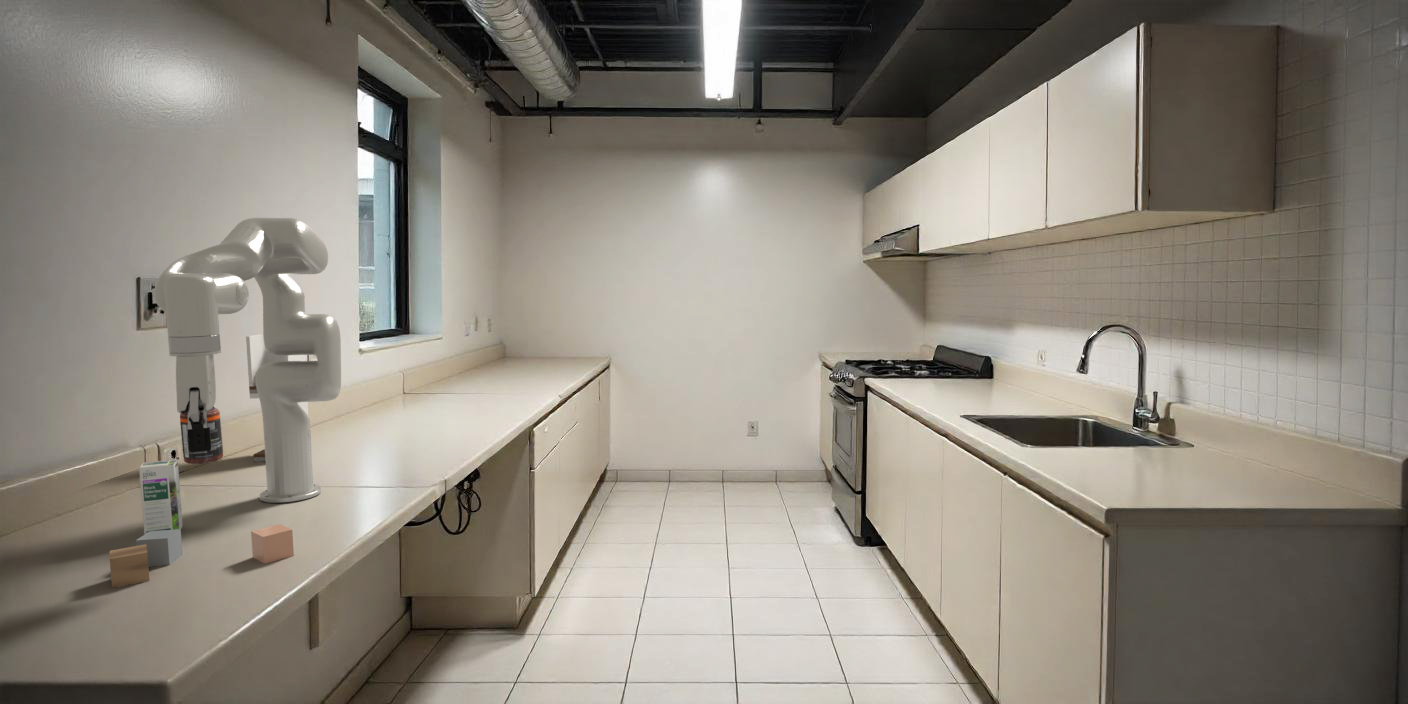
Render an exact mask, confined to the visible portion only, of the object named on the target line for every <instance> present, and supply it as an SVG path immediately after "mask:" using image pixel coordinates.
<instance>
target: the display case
mask: <svg viewBox="0 0 1408 704" xmlns="http://www.w3.org/2000/svg"><path fill="white" fill-rule="evenodd" d="M245 339H246V341H245V342H246V359H247V372H248V389H249V399H259V395H258V392H257V388H256V374H257V372H258V370H259V369H260V368H261V367H262V366H264V365H265V364H268V363H272V362H279V361H306V355H275V354H271V353H269V352H268V351H267V350H266V348H265V345H264V337H263V333H261V334H255V335H254V334H253V335H247V336H245ZM298 404H299V405H300V406H301V408H302V409H303V410H304V411H305V412H306V414H307V415H308V416H309V405H308V404H309V402H299V403H298ZM253 462H254V463H255V462H256V463H257V462H266V461H265V448H264V449H262V450H260V451H258V452H255V453H254V454H253Z"/></svg>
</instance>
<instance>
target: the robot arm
mask: <svg viewBox="0 0 1408 704" xmlns="http://www.w3.org/2000/svg"><path fill="white" fill-rule="evenodd" d="M328 263H329V253H328V249H327V246H326V244H325V243H324V241H323V240H322V238H321V237H320V236H319V235H318V234H317V233H316V231H314V230H313V229H312V227H310V226H309V225H308V224H307V223H305V222H303V221H302V220H300V219H297V218H292V217H252V218H246V219H244V220H242V221H240V222H238V223H237V224H236V226H235V227H234V228H233V229H232V230H231V231H230V232H229V233H228V234H227V236H226V237H225V238H224V239H223V240H222V241H221V242H220V243H219V244H216V245H213V246H210V247H207V248H203V249H201V250H198V251H196V252H193V253H190V254H187V255H184V256H182V257H180V258H178V259H176V260H175V261H173V262H172V263H171V264H169V266H168V267H166V269H165V270H163V272H162V273H161V274H160V275H159V277H158V279H157V281H156V283H155V287H154V290H153V291H154V300H155V304H156V305H157V306H158V307H159V309H160V310H162V311H163V312H164V313H165V314H166V315H165V317H166V326H167V327H166V328H167V329H166V330H167V339H168V342H167V343H168V353H169V356H170V357H175V386H176V387H175V388H176V411H177V413H179V415H180V414H181V413H183V412H184V411H185V410H186V409H187V408H188V430H187V431H188V444H189V451H190V452H200V451H209V450H211V436H210V427H208V417H207V413H208V412H207V411H209V410H211V409H212V407H213V406H214V407H215V405H216V401H217V400H216V399H217V398H216V397H217V396H216V395H217V391H216V390H217V389H216V370H215V358H214V355H217V354H221V353H222V347H221V335H220V321H219V319H220V318H219V315H231V314H236V313H238V312H240V311H242V310H243V309H244V308H245V307H246V305H247V303H248V301H249V296H250V295H249V293H250V292H249V288H248V286H247V283H246V282H245V281H248V280H251V279H253V278H254V279H255V281H256V284H257V285H258V287H259V289H260V292H261V297H262V329H263V330H262V332H263V333H262V334H263V337H264V345H265V348H266V350H267V351H268V352H269V353H271V354H275V355H305V356H316V359H317V360H305V361H279V362H272V363H268V364H265V365H264V366H262V367H261V368H260V369H259V370H258V372H257V374H256V388H257V392H258V395H259V398H258V399H259V403H260V408H261V414H262V416H261V417H262V425H263V426H262V427H263V428H262V429H263V442H264V445H263V446H264V449H265V461H264V462H265V474H266V477H265V478H266V490H264V491H262V492H260V494H259V500H260V501H262V502H265V503H271V504H272V503H273V504H274V503H276V504H277V503H278V504H279V503H280V504H281V503H292V502H297V501H298V502H299V501H302V500H307V499H311V498H314V497H316V496H318V495H320V494H321V492H322V488H321V486H320V485H318V484H314V471H313V455H312V454H313V453H312V437H311V434H312V433H311V421H310V417H309V414H308V415H307V414H306V412H305V411H304V410H303V409H302V408H301V406H300V405H299V404H298V403H299V402H308V403H310V402H311V403H313V402H330V401H334V400H336V399H337V397H338V396H339V394H340V392H341V389H342V388H341V387H342V357H341V356H342V345H341V343H342V342H341V339H342V338H341V331H340V326H339V323H338V321H337V320H336V319H335V318H334V317H333V316H332V315H328V314H325V313H313V314H312V313H306V310H305V309H306V307H305V302H306V301H305V292H304V291H303V289H302V287H301V286H300V285H299V282H297V281H296V280H295V279H294V278H293V277H292V276H291V275H317V274H320V273H323V271H325V270H326V268H327V266H328ZM203 403H204V405H203ZM187 404H188V406H187ZM202 407H204V410H199V408H202ZM202 415H203V416H202Z"/></svg>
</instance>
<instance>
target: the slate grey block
mask: <svg viewBox="0 0 1408 704" xmlns="http://www.w3.org/2000/svg"><path fill="white" fill-rule="evenodd" d="M145 544H146V545H147V555H148V567H150V568H151V567H160V566H161V567H163V566H171V565H172V564H173V563H174V562H175V561H177V560H178V559H180V558H181V557H182V556H183V543H182V529H176V530H161V531H149V532H148V533H146V534H145V535H144V534H143V535H142V536H140V537H139V538H137V539H135V546H139V545H145ZM180 556H181V557H180Z"/></svg>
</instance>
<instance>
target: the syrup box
mask: <svg viewBox="0 0 1408 704" xmlns="http://www.w3.org/2000/svg"><path fill="white" fill-rule="evenodd" d="M138 473H139V485H140V493H141V495H140V496H141V505H142V506H141V507H142V516H143V517H142V518H143V535H145V534H146V533H148V532H149V531H161V530H176V529H181V530H182V528H183V515H182V514H183V513H182V500H181V499H182V498H181V485H180V471H179V460H178V458H175V459H167V460H156V461H144V462H143V463H142V464H140V466H139V472H138Z"/></svg>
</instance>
